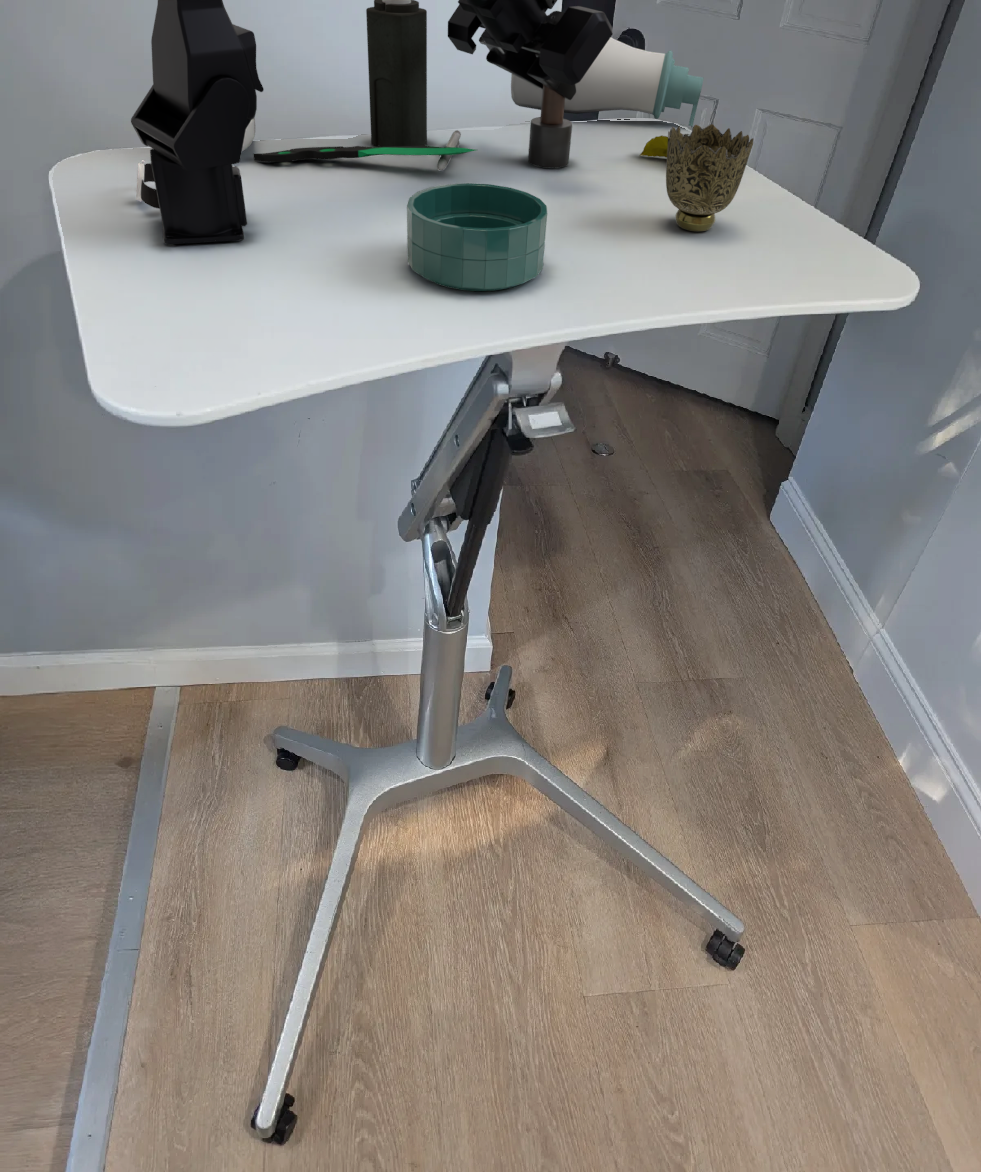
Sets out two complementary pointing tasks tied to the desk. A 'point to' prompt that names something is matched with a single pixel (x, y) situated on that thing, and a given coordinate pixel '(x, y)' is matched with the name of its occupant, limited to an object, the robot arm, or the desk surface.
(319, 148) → the knife
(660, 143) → the decorative leaf
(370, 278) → the desk surface
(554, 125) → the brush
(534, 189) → the desk surface
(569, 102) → the soap bottle
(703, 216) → the cup
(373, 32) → the dark bottle
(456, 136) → the pen
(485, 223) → the bowl
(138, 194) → the watch
